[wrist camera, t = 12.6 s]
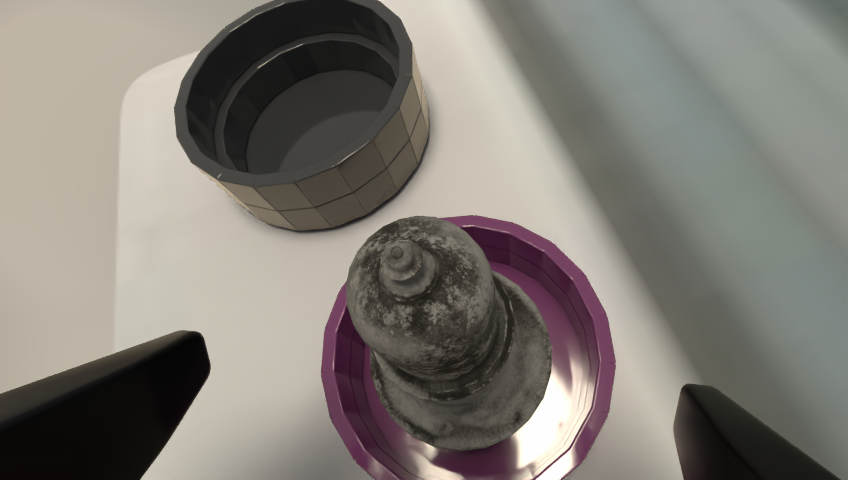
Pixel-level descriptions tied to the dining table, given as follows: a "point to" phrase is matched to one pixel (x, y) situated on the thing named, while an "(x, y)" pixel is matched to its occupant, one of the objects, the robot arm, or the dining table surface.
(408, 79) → the charcoal bowl
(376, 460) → the plum bowl
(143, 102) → the dining table surface
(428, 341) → the salt shaker
